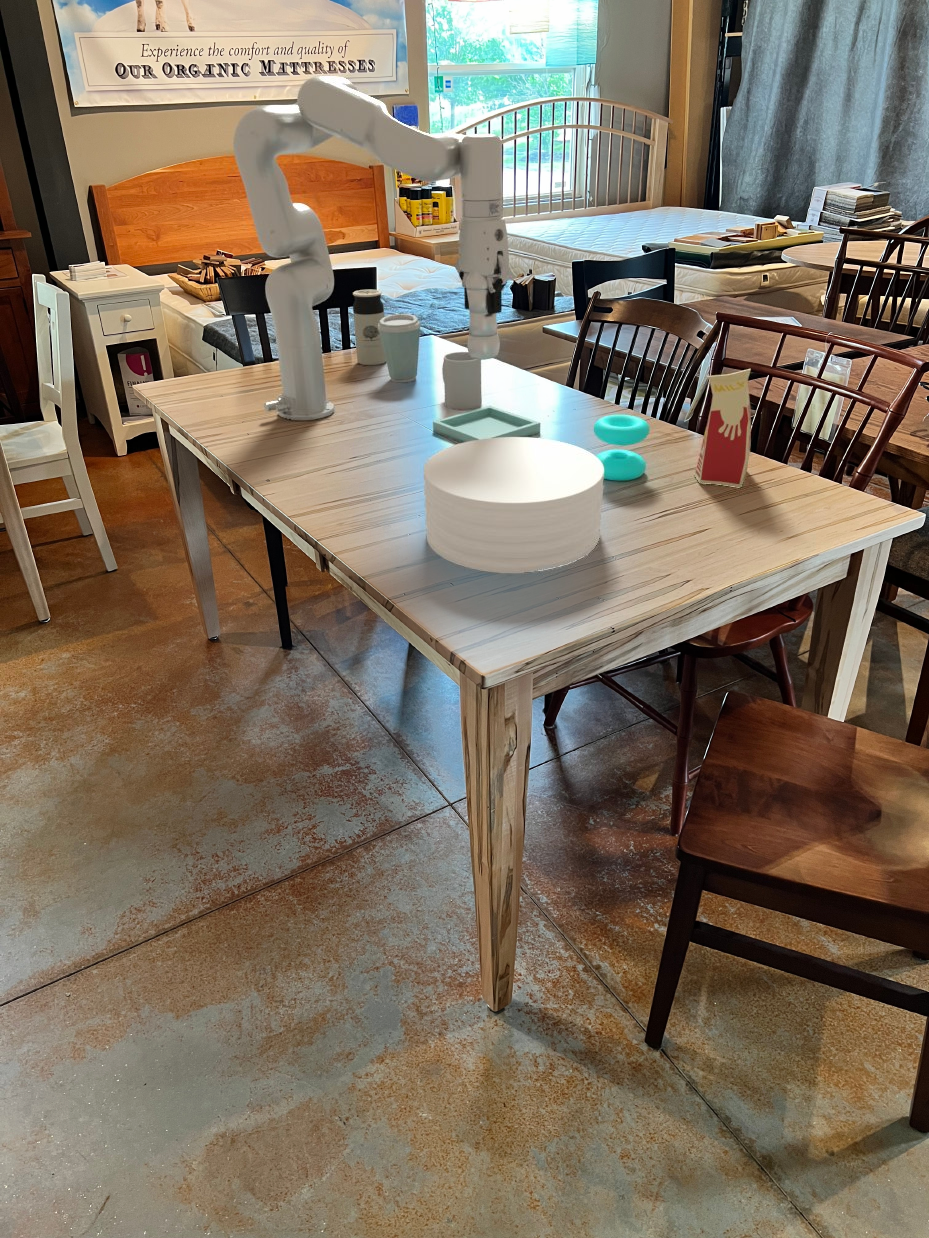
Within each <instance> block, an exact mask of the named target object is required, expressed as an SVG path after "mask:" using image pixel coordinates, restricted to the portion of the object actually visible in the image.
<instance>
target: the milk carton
mask: <svg viewBox="0 0 929 1238" xmlns="http://www.w3.org/2000/svg"><path fill="white" fill-rule="evenodd" d="M751 371H752V370H751V368H748V369H744V370H740V371H737V372H732V373H728V374H715V375H707V376H706V378H707V379H708V380H709V383H710V388H711V393H712V398H711V403H710V404H711V406H710V410H709V413H708V418H707V423H706V427H705V431H704V436H703V437H702V444H701V447H700V451H699V455H698V459H697V463H696V468H695V472H694V475H695V476H694V477H696V479H695V480H696V481H697V480H698V481H697V482H699V483H711V484H721V485H728V486H735V487H742V488H743V485H744V483H745V479H746V476H747V473H748V466H749V465H748V464H749V458H750V453H751V441H752V440H751V439H752V438H751V435H752V434H751V432H752V427H751V426H752V424H751V423H752V419H751V417H752V411H751V402H750V391H749V385H748V380H749V377H750V373H751ZM746 472H747V473H746ZM743 482H744V483H743ZM699 483H698V484H699ZM742 484H743V485H742Z"/></svg>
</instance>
